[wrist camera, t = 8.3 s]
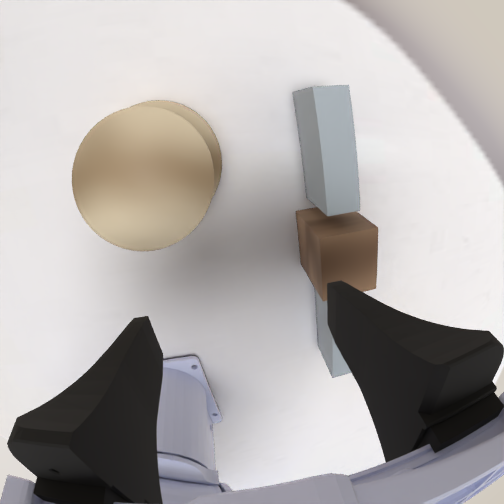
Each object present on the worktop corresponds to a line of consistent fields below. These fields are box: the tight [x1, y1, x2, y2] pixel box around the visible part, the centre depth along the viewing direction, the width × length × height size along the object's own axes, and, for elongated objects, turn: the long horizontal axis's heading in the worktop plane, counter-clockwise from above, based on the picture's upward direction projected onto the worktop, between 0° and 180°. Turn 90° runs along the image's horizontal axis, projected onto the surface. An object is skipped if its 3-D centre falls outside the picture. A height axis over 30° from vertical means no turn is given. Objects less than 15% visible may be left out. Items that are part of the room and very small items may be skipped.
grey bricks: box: [293, 85, 360, 378], centre depth 20 cm, size 20×2×4 cm, turn 9°
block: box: [296, 207, 378, 301], centre depth 20 cm, size 4×4×5 cm
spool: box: [72, 100, 222, 251], centre depth 16 cm, size 8×8×5 cm
